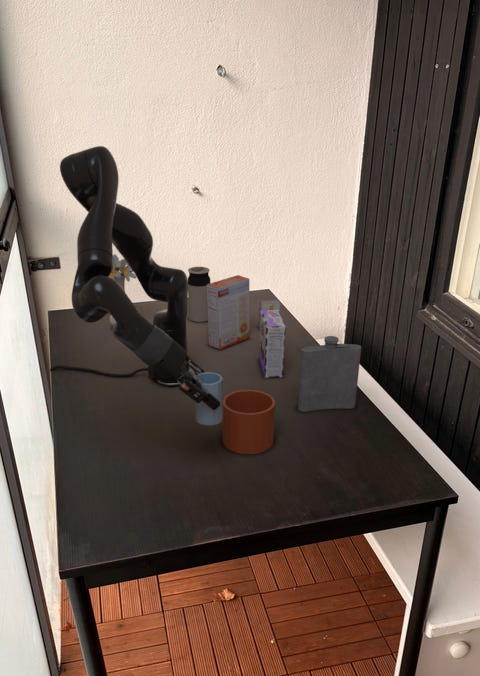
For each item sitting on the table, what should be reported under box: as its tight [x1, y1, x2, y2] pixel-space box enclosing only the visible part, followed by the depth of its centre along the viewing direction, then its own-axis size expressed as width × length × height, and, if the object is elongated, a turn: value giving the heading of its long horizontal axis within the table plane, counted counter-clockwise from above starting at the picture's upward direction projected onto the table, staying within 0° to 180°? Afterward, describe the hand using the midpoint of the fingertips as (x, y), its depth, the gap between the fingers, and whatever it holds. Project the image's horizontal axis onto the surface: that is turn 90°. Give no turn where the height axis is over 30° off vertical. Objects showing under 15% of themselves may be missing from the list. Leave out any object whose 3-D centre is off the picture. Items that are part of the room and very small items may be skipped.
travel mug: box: [187, 266, 211, 323], centre depth 229 cm, size 8×8×18 cm
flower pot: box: [222, 389, 276, 455], centre depth 158 cm, size 13×13×11 cm
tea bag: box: [258, 299, 281, 330], centre depth 223 cm, size 4×7×10 cm, turn 98°
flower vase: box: [108, 253, 137, 327], centre depth 219 cm, size 13×18×25 cm
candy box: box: [259, 310, 286, 379], centre depth 193 cm, size 14×6×16 cm, turn 5°
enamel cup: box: [194, 371, 224, 426], centre depth 141 cm, size 6×6×10 cm
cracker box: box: [207, 274, 250, 350], centre depth 210 cm, size 14×6×21 cm, turn 135°
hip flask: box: [297, 335, 362, 413], centre depth 171 cm, size 16×4×20 cm, turn 99°
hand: (216, 399), depth 141 cm, fingers closed on enamel cup, 6 cm apart
